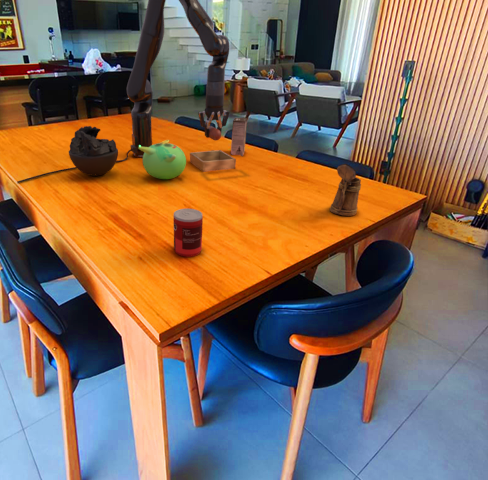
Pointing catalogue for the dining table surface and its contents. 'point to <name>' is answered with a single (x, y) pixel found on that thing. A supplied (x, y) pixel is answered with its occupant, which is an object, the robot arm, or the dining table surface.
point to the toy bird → (163, 160)
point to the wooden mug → (346, 192)
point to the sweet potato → (214, 133)
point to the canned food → (188, 232)
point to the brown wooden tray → (212, 160)
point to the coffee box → (238, 136)
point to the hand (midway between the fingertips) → (212, 136)
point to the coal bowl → (92, 152)
